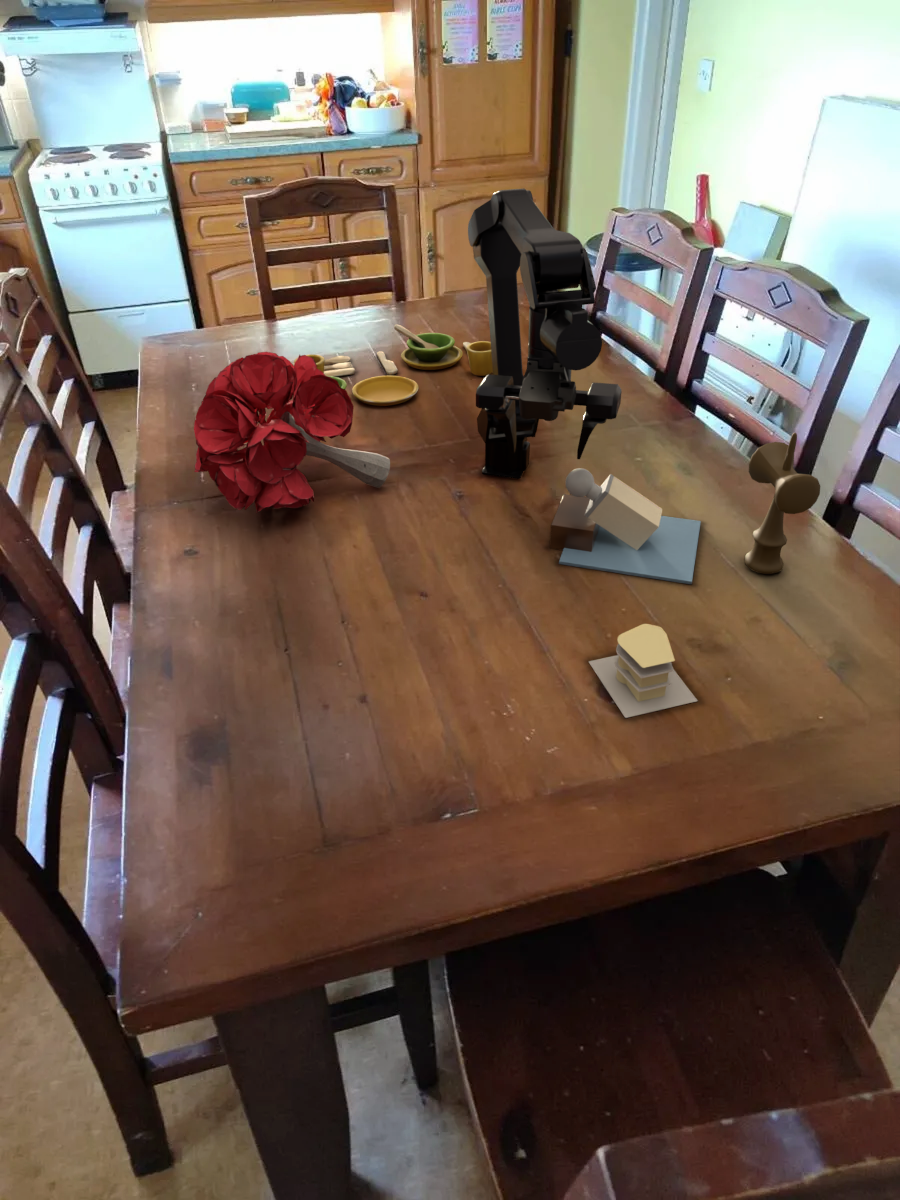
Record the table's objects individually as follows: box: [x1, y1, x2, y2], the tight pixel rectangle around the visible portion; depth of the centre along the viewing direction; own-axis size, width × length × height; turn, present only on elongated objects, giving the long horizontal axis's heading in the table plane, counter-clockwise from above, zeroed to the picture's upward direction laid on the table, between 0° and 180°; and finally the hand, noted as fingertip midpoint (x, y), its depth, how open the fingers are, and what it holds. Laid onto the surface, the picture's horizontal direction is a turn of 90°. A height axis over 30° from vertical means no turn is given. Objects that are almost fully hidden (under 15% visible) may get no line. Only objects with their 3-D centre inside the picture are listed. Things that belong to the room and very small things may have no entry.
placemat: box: [558, 515, 702, 585], centre depth 123 cm, size 18×16×1 cm
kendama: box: [744, 432, 821, 575], centre depth 112 cm, size 6×10×20 cm, turn 5°
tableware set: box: [292, 324, 493, 407], centre depth 171 cm, size 41×28×6 cm
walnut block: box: [549, 493, 600, 552], centre depth 124 cm, size 6×9×4 cm, turn 163°
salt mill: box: [565, 467, 663, 550], centre depth 120 cm, size 14×5×10 cm, turn 73°
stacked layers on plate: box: [588, 623, 699, 719], centre depth 98 cm, size 10×9×6 cm
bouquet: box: [193, 351, 391, 513], centre depth 129 cm, size 22×24×30 cm
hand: (545, 455), depth 119 cm, fingers open, 9 cm apart
